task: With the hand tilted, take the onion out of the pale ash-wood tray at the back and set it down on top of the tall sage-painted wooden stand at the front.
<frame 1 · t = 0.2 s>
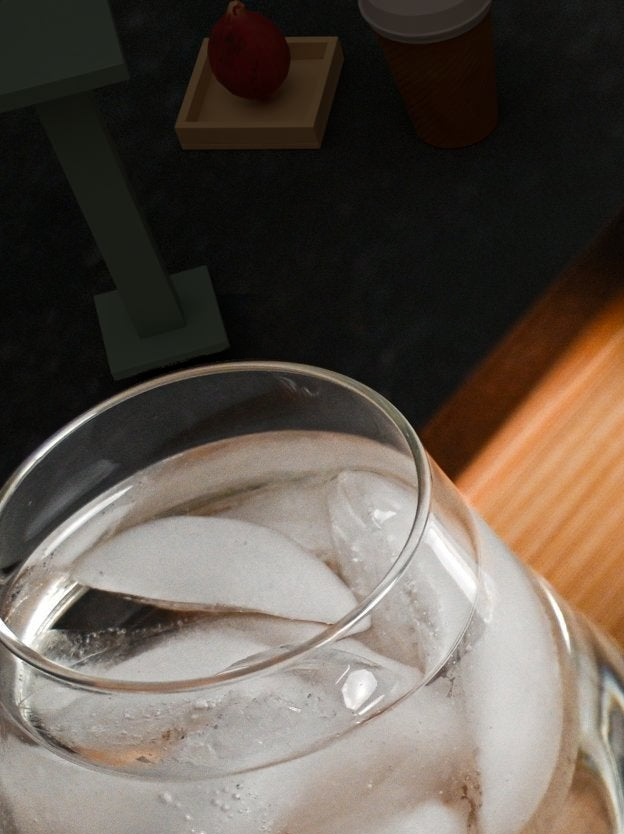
stand: (36, 36, 114), on the countertop
tray: (264, 103, 145), on the countertop
onion: (263, 100, 145), resting on tray
disposable coffee cup: (457, 123, 143), on the countertop
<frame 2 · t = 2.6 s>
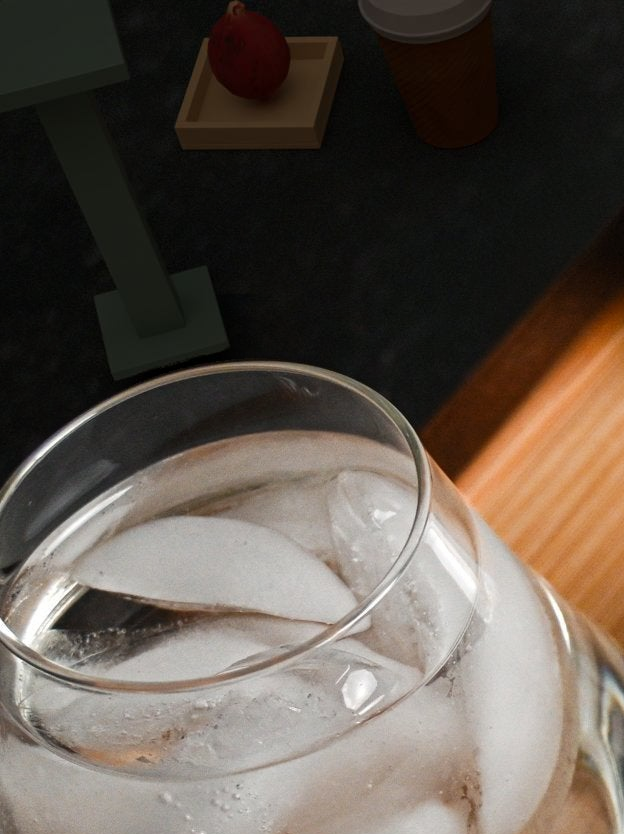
nothing on the countertop moved.
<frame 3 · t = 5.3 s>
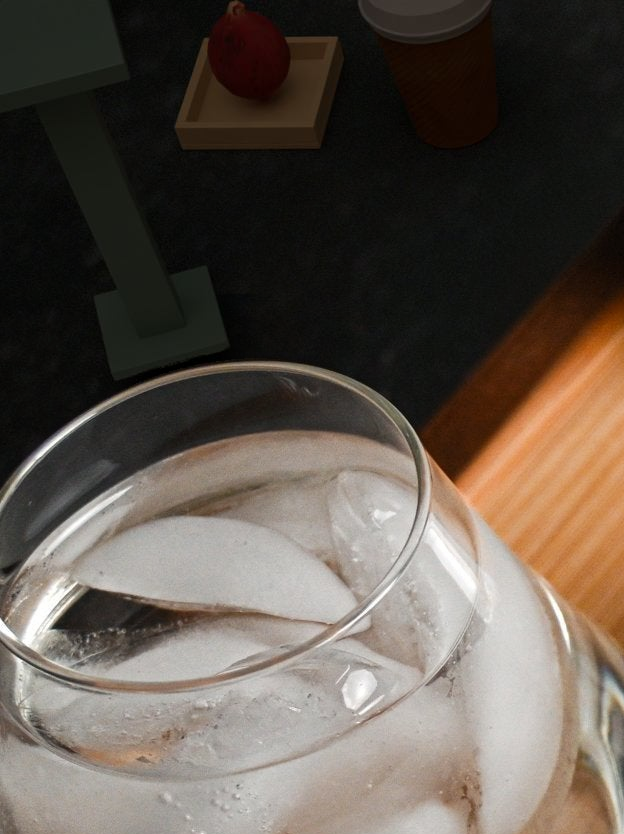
nothing on the countertop moved.
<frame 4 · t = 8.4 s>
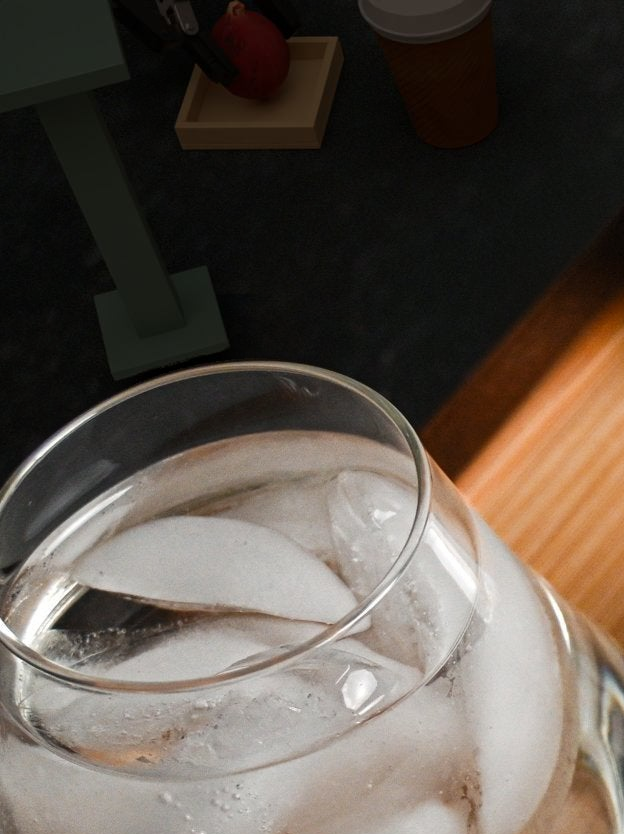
hand: (264, 56, 141), 5 cm above the countertop, tool tilted 45°, fingers closed on onion, 5 cm apart
onion: (263, 100, 145), resting on tray, touching gripper
everything else where it was.
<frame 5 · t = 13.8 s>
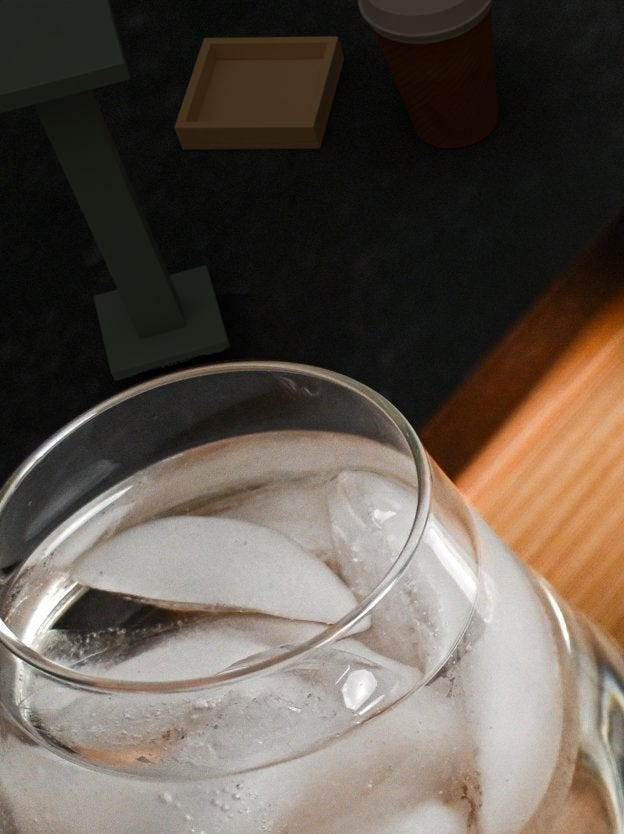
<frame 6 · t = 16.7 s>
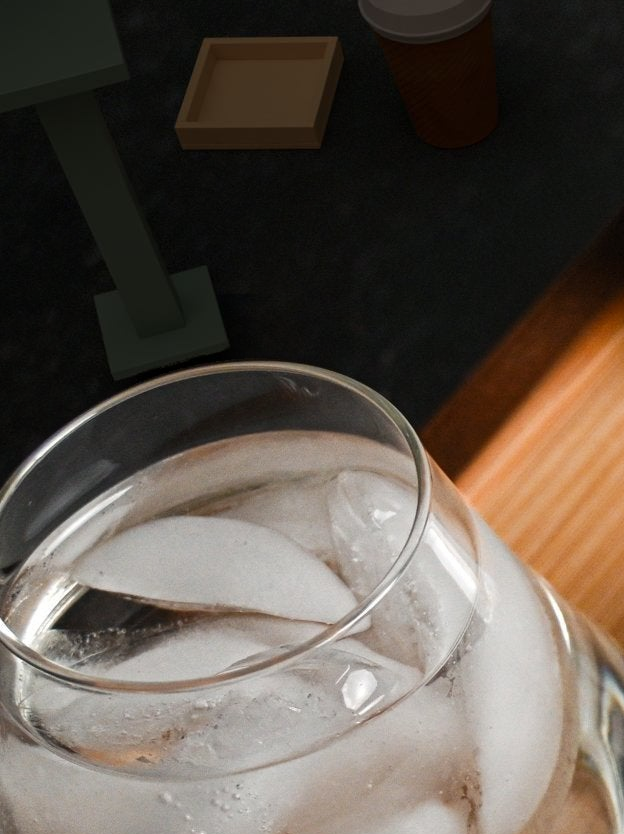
when the fingers open (27 cm above the countertop, at t = 19.2 s): onion stays where it is, resting on stand.
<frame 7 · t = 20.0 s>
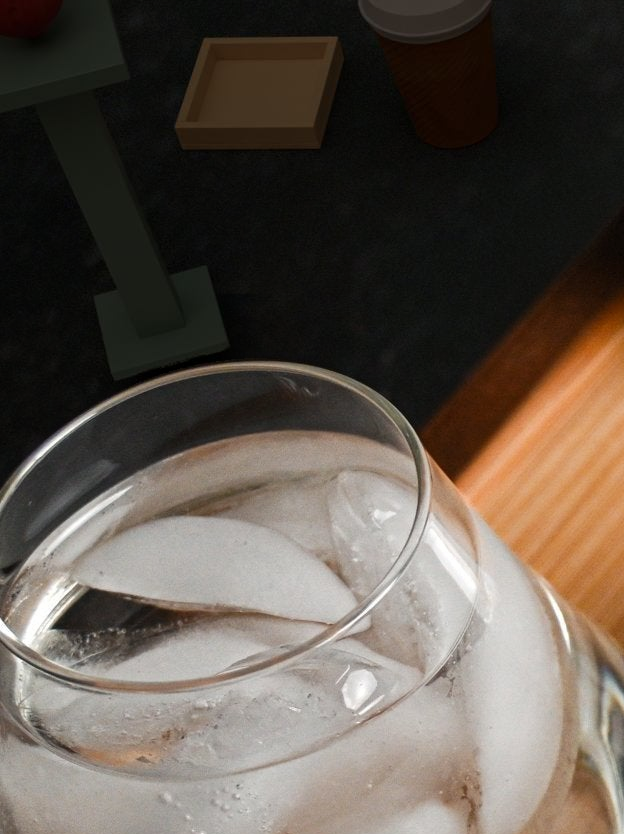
onion: (35, 40, 114), point 23 cm above the countertop, touching stand
everything else where it was.
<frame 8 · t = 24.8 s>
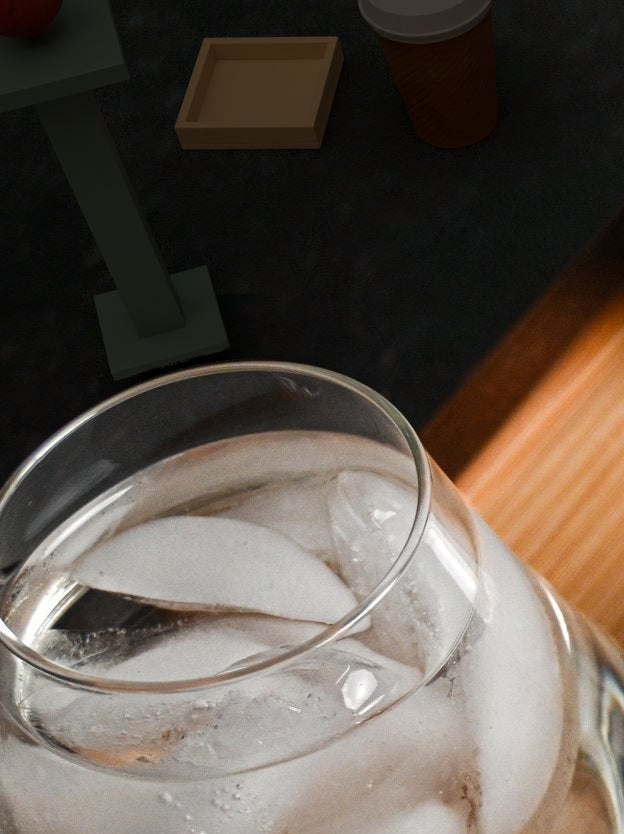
nothing on the countertop moved.
at the end: onion inside the target area on the stand (0.1 cm from its centre), point 0.0 cm above the stand's base; onion touching stand; the gripper is holding nothing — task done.
